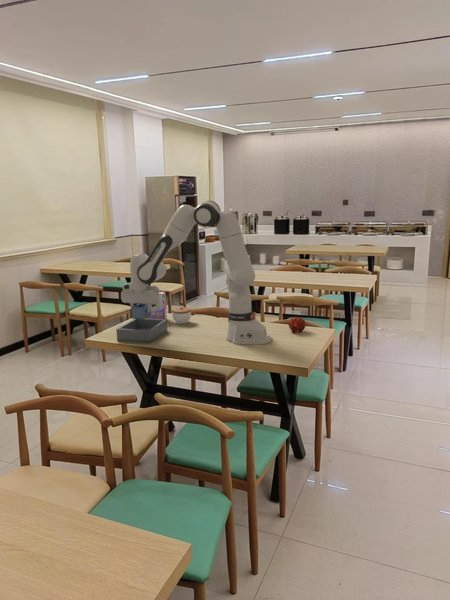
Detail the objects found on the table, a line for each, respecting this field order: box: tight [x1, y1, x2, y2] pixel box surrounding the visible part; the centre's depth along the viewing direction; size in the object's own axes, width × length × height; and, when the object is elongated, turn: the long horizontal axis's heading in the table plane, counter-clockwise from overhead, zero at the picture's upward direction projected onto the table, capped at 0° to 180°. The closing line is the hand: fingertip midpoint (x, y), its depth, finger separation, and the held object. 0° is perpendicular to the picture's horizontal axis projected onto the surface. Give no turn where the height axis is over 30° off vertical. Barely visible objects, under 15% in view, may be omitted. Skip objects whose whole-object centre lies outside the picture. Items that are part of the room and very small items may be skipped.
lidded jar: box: [171, 306, 192, 325], centre depth 267 cm, size 11×11×9 cm
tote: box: [130, 303, 151, 320], centre depth 242 cm, size 6×10×6 cm, turn 164°
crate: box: [116, 318, 168, 344], centre depth 244 cm, size 18×22×6 cm
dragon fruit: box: [288, 316, 307, 334], centre depth 246 cm, size 8×8×12 cm
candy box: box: [145, 291, 168, 320], centre depth 273 cm, size 14×6×16 cm, turn 84°
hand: (141, 311), depth 242 cm, fingers closed on tote, 6 cm apart
